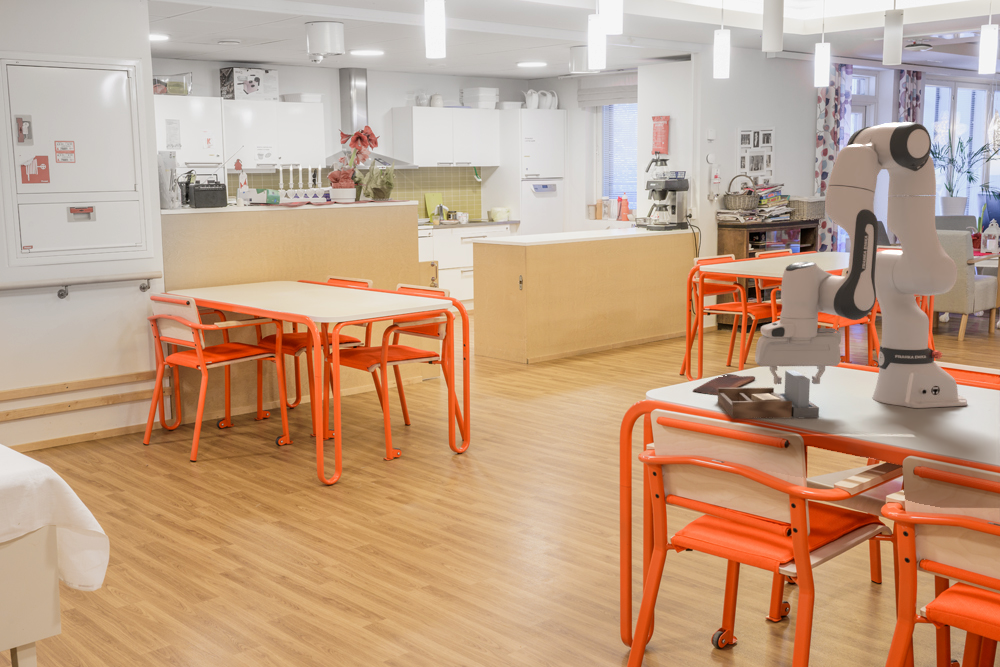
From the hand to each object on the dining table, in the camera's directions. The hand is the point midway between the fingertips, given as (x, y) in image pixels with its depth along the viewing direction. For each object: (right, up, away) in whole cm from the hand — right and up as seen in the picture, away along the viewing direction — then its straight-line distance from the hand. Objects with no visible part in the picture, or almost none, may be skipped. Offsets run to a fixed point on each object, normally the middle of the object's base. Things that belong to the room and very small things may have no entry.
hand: (796, 383), depth 233 cm
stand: (0, -7, +1) cm, 7 cm away
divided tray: (-11, -7, +1) cm, 13 cm away
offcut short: (-7, -5, +1) cm, 9 cm away
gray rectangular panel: (0, -7, +1) cm, 7 cm away
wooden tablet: (-7, -2, +27) cm, 28 cm away
